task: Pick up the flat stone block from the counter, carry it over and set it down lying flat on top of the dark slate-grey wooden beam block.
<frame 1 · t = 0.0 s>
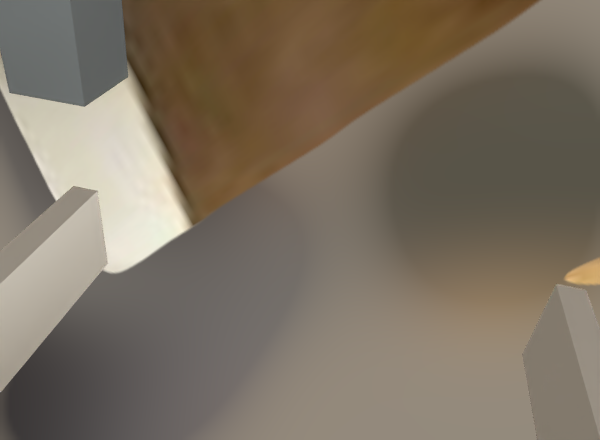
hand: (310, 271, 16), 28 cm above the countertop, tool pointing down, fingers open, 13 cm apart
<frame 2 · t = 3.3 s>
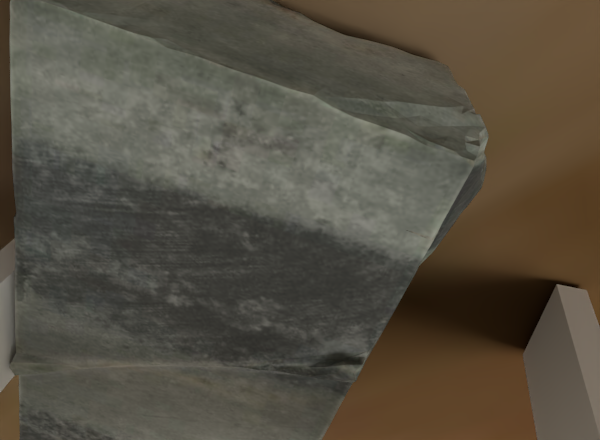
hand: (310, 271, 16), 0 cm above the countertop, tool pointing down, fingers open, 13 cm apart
stone block: (262, 244, 16), on the countertop
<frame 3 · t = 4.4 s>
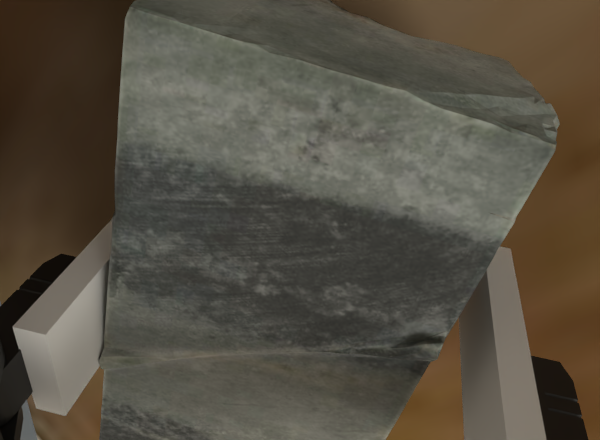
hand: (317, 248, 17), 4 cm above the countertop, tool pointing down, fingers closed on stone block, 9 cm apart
stone block: (320, 240, 17), point 4 cm above the countertop, touching gripper
when the fingers open (7 cm above the countertop, at t = 8.9 s): stone block stays where it is, resting on beam block.
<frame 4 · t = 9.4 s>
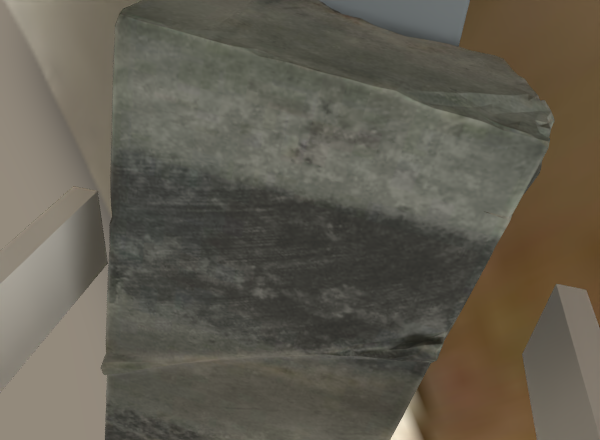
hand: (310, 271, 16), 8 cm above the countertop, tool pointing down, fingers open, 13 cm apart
stone block: (321, 242, 17), point 7 cm above the countertop, touching beam block
beam block: (342, 146, 22), on the countertop, touching stone block
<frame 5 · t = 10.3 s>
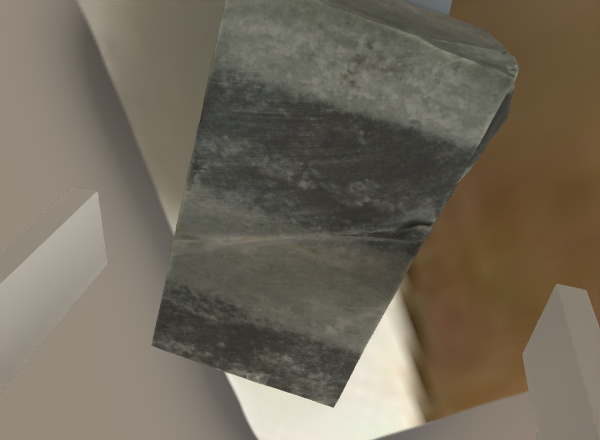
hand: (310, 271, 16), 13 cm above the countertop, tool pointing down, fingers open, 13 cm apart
stone block: (336, 173, 21), point 7 cm above the countertop, touching beam block
beam block: (350, 108, 27), on the countertop, touching stone block
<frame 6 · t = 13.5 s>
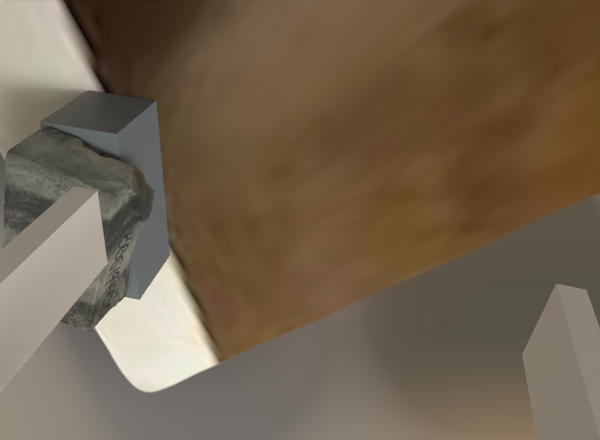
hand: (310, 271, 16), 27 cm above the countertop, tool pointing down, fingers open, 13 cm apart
stone block: (96, 218, 44), point 6 cm above the countertop, touching beam block
beam block: (134, 177, 49), on the countertop, touching stone block
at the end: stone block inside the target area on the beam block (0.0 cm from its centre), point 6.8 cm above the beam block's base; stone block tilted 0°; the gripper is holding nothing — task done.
